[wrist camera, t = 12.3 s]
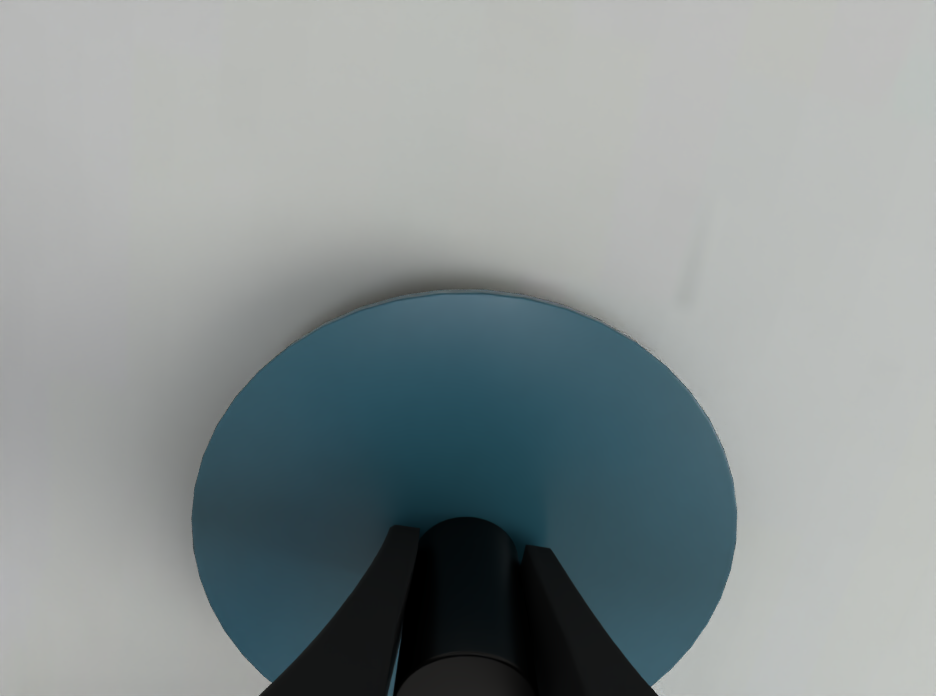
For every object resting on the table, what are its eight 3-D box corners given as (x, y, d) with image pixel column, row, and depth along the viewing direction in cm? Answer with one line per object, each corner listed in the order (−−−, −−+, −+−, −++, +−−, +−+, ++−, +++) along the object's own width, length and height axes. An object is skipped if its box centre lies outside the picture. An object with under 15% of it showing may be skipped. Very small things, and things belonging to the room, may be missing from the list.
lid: (208, 680, 14) (87, 902, 10) (222, 233, 10) (34, 255, 6) (632, 734, 15) (705, 963, 10) (792, 340, 11) (1017, 431, 7)
